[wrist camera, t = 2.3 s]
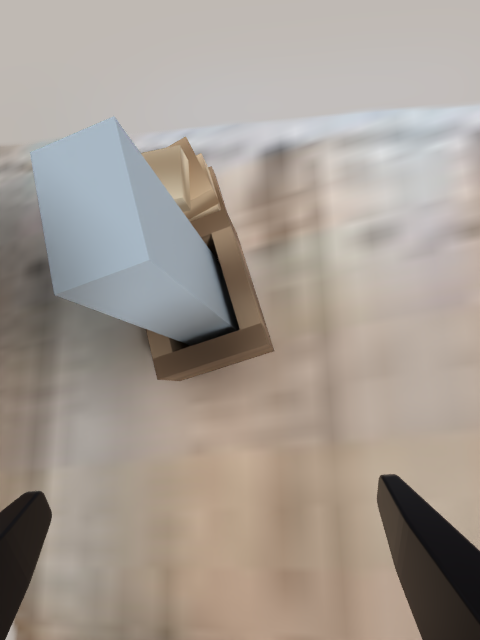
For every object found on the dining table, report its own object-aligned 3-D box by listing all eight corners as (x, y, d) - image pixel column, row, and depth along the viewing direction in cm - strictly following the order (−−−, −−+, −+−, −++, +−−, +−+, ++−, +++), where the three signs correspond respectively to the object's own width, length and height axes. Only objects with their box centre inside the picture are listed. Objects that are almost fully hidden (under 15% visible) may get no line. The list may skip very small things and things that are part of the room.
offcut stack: (230, 229, 23) (210, 190, 19) (150, 259, 24) (111, 228, 19) (210, 167, 24) (187, 115, 20) (134, 197, 25) (95, 153, 20)
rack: (274, 351, 22) (267, 343, 19) (179, 381, 23) (157, 379, 20) (217, 173, 25) (203, 140, 22) (136, 205, 26) (111, 178, 23)
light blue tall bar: (240, 333, 23) (149, 259, 10) (197, 348, 23) (54, 294, 10) (220, 264, 24) (114, 116, 11) (179, 279, 24) (30, 152, 11)
